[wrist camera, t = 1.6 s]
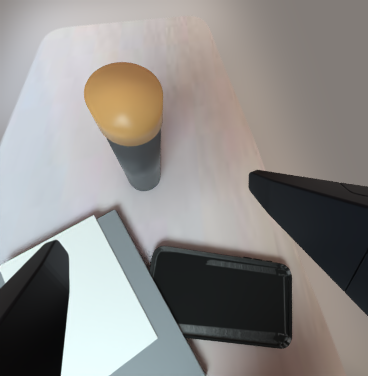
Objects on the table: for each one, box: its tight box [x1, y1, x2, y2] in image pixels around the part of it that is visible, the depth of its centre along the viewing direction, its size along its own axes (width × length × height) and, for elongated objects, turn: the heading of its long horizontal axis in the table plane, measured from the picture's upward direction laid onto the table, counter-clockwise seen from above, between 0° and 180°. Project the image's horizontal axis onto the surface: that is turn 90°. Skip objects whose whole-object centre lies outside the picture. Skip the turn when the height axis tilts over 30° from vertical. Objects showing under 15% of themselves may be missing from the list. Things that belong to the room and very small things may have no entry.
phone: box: [149, 246, 292, 349], centre depth 20 cm, size 8×1×15 cm
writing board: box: [0, 209, 206, 376], centre depth 17 cm, size 18×12×1 cm, turn 32°
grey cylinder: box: [84, 62, 163, 191], centre depth 16 cm, size 4×4×13 cm
